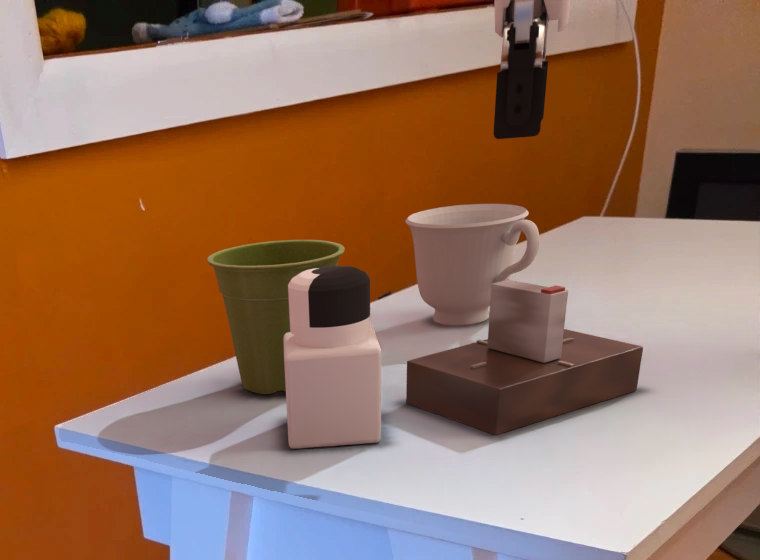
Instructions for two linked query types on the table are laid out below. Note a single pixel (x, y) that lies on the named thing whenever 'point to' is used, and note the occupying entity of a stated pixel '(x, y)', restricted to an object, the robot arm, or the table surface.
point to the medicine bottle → (331, 360)
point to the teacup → (468, 256)
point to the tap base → (521, 381)
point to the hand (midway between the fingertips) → (519, 130)
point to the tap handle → (527, 320)
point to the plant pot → (264, 301)
